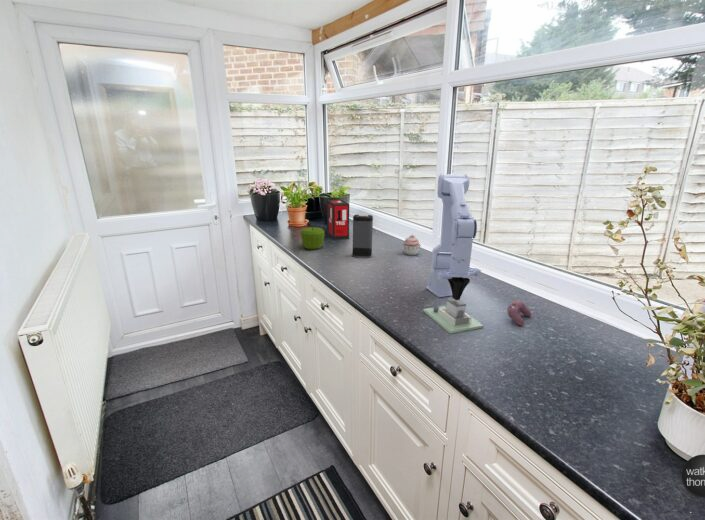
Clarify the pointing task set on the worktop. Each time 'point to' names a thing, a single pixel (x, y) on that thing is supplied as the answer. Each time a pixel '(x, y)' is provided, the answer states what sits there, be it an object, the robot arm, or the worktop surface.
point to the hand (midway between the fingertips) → (456, 298)
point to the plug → (455, 308)
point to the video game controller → (518, 311)
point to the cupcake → (411, 245)
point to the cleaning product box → (338, 219)
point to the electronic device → (362, 236)
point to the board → (452, 320)
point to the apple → (312, 237)
